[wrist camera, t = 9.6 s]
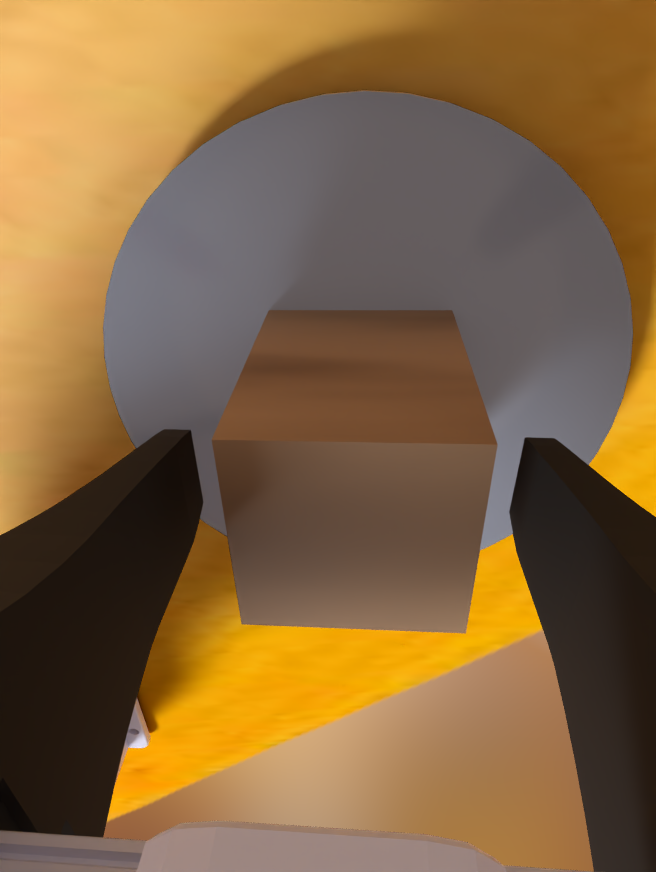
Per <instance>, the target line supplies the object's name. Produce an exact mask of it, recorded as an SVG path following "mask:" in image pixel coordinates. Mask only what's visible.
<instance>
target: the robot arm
mask: <svg viewBox="0 0 656 872" xmlns="http://www.w3.org/2000/svg"><path fill="white" fill-rule="evenodd" d="M203 503H204V502H203V496H202V491H201V485H200V479H199V473H198V468H197V462H196V456H195V450H194V445H193V439H192V433H191V430H178V429H163V430H162V431H160V432H159V433H157V434H156V435H154V436H153V437H151V438H150V439H149V440H147V441H146V442H145V443H143V444H142V445H140V446H139V447H138V448H136V449H135V450H134V451H132V452H131V453H130V454H128V455H127V456H126V457H124V458H123V459H122V460H120V461H119V462H118V463H116V464H115V465H113V466H112V467H111V468H109V469H108V470H107V471H105V472H104V473H103V474H101V475H100V476H98V477H97V478H95V479H94V480H92V481H91V482H89V483H88V484H86V485H85V486H83V487H82V488H80V489H79V490H77V491H76V492H74V493H73V494H71V495H70V496H68V497H67V498H65V499H64V500H62V501H61V502H59V503H58V504H56V505H54V506H53V507H51V508H49V509H48V510H46V511H44V512H43V513H41V514H39V515H38V516H36V517H34V518H32V519H30V520H28V521H27V522H25V523H23V524H21V525H19V526H17V527H16V528H14V529H12V530H10V531H8V532H6V533H4V534H2V535H0V872H591V871H576V870H561V869H546V868H533V867H518V866H504V865H502V864H501V863H500V862H499V861H497V860H496V859H495V858H494V857H492V856H490V855H489V854H487V853H485V852H483V851H482V850H480V849H478V848H477V847H475V846H473V845H471V844H470V843H468V842H463V841H458V840H452V839H447V838H442V837H437V836H432V835H427V834H413V833H399V832H384V831H369V830H354V829H338V828H324V827H308V826H294V825H279V824H264V823H249V822H234V821H205V822H190V823H180V824H178V825H176V826H174V827H172V828H170V829H168V830H165V831H163V832H161V833H159V834H157V835H156V836H154V837H153V838H151V839H150V840H148V841H146V840H131V839H116V838H103V835H104V831H105V826H106V822H107V817H108V813H109V808H110V803H111V799H112V794H113V789H114V785H115V782H116V780H117V777H118V774H119V771H120V769H121V766H122V763H123V760H124V758H125V755H126V752H127V749H128V747H132V748H144V747H146V746H147V745H148V744H149V741H150V734H149V731H148V728H147V725H146V722H145V720H144V717H143V714H142V711H141V708H140V705H139V702H138V699H137V695H138V691H139V688H140V684H141V681H142V677H143V674H144V671H145V667H146V664H147V660H148V657H149V653H150V650H151V647H152V644H153V641H154V638H155V635H156V633H157V630H158V627H159V625H160V622H161V620H162V617H163V615H164V613H165V610H166V608H167V605H168V603H169V601H170V598H171V596H172V593H173V591H174V589H175V586H176V584H177V581H178V579H179V576H180V574H181V572H182V569H183V567H184V564H185V562H186V559H187V557H188V554H189V552H190V549H191V547H192V544H193V542H194V538H195V535H196V531H197V527H198V524H199V519H200V515H201V511H202V507H203ZM509 514H510V520H511V525H512V531H513V536H514V541H515V546H516V551H517V554H518V558H519V561H520V564H521V567H522V570H523V573H524V576H525V579H526V581H527V584H528V587H529V590H530V593H531V596H532V599H533V602H534V605H535V608H536V610H537V613H538V616H539V619H540V622H541V625H542V628H543V631H544V634H545V636H546V639H547V642H548V645H549V649H550V652H551V655H552V659H553V662H554V666H555V670H556V674H557V679H558V683H559V687H560V692H561V696H562V701H563V705H564V709H565V714H566V719H567V723H568V729H569V733H570V739H571V743H572V748H573V753H574V758H575V763H576V768H577V774H578V779H579V785H580V790H581V796H582V801H583V806H584V812H585V818H586V824H587V830H588V836H589V842H590V849H591V855H592V861H593V867H594V872H656V517H655V516H653V515H652V514H651V513H649V512H648V511H646V510H645V509H643V508H642V507H641V506H639V505H638V504H637V503H635V502H634V501H633V500H631V499H630V498H629V497H627V496H626V495H625V494H623V493H622V492H621V491H620V490H618V489H617V488H616V487H615V486H613V485H612V484H611V483H610V482H608V481H607V480H606V479H605V478H603V477H602V476H601V475H600V474H598V473H597V472H596V471H595V470H594V469H592V468H591V467H590V466H589V465H588V464H586V463H585V462H584V461H583V460H581V459H580V458H579V457H578V456H577V455H575V454H574V453H573V452H572V451H571V450H569V449H568V448H567V447H566V446H564V445H563V444H562V443H561V442H559V441H558V440H556V439H555V438H531V437H525V439H524V443H523V448H522V453H521V458H520V463H519V467H518V472H517V477H516V482H515V486H514V491H513V496H512V501H511V505H510V510H509Z"/></svg>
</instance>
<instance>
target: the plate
mask: <svg viewBox="0 0 656 872" xmlns="http://www.w3.org/2000/svg"><path fill="white" fill-rule="evenodd" d="M269 310H452V311H453V314H454V317H455V320H456V323H457V326H458V328H459V331H460V334H461V337H462V340H463V343H464V346H465V349H466V352H467V355H468V358H469V361H470V364H471V367H472V370H473V373H474V376H475V379H476V382H477V385H478V388H479V391H480V394H481V397H482V400H483V403H484V406H485V409H486V412H487V415H488V418H489V420H490V423H491V426H492V429H493V432H494V435H495V438H496V441H497V444H498V446H497V451H496V457H495V463H494V469H493V475H492V481H491V487H490V493H489V499H488V505H487V510H486V516H485V522H484V528H483V534H482V540H481V546H480V550H481V549H484V548H486V547H489V546H491V545H492V544H494V543H496V542H498V541H500V540H502V539H504V538H506V537H508V536H509V535H511V534H513V531H512V525H511V520H510V514H509V510H510V505H511V501H512V496H513V491H514V486H515V482H516V477H517V472H518V467H519V463H520V458H521V453H522V448H523V443H524V439H525V437H531V438H555V439H556V440H558V441H559V442H561V443H562V444H563V445H564V446H566V447H567V448H568V449H569V450H571V451H572V452H573V453H574V454H575V455H577V456H578V457H579V458H580V459H581V460H583V461H584V462H585V463H586V464H588V465H589V463H590V462H591V461H592V459H593V458H594V457H595V455H596V454H597V452H598V450H599V449H600V447H601V445H602V443H603V441H604V439H605V438H606V436H607V434H608V432H609V430H610V429H611V427H612V424H613V422H614V419H615V417H616V414H617V412H618V409H619V406H620V404H621V401H622V399H623V395H624V391H625V387H626V383H627V378H628V374H629V370H630V364H631V352H632V340H633V325H632V311H631V298H630V294H629V290H628V286H627V281H626V277H625V273H624V269H623V264H622V262H621V259H620V257H619V255H618V252H617V250H616V247H615V245H614V242H613V240H612V238H611V235H610V233H609V230H608V229H607V227H606V225H605V224H604V222H603V221H602V219H601V217H600V216H599V214H598V213H597V211H596V209H595V208H594V206H593V205H592V203H591V201H590V200H589V198H588V197H587V196H586V194H585V193H584V192H583V191H582V190H581V189H580V188H579V186H578V185H577V184H576V183H575V182H574V181H573V180H572V178H571V177H570V176H569V175H568V174H567V173H566V172H565V170H564V169H563V168H562V167H561V166H559V165H558V164H557V163H556V162H555V161H553V160H552V159H551V158H550V157H549V156H547V155H546V154H545V153H544V152H543V151H541V150H540V149H539V148H538V147H536V146H535V145H534V144H533V143H532V142H530V141H529V140H527V139H525V138H524V137H522V136H520V135H519V134H517V133H515V132H514V131H512V130H510V129H508V128H507V127H505V126H503V125H502V124H500V123H498V122H496V121H495V120H493V119H490V118H488V117H485V116H483V115H480V114H478V113H475V112H473V111H470V110H467V109H465V108H462V107H460V106H457V105H455V104H452V103H449V102H447V101H442V100H438V99H433V98H429V97H424V96H420V95H415V94H410V93H406V92H389V91H373V90H360V91H349V92H338V93H327V94H321V95H317V96H313V97H309V98H305V99H301V100H297V101H293V102H289V103H285V104H282V105H279V106H277V107H274V108H272V109H269V110H267V111H265V112H262V113H260V114H258V115H255V116H253V117H250V118H248V119H246V120H243V121H241V122H238V123H237V124H235V125H234V126H232V127H230V128H229V129H227V130H225V131H224V132H222V133H221V134H219V135H217V136H216V137H214V138H212V139H211V140H209V141H208V142H206V143H204V144H203V145H202V146H200V147H199V148H198V149H197V150H196V151H195V152H193V153H192V154H191V155H190V156H189V157H187V158H186V159H185V160H184V161H183V162H182V163H180V164H179V165H178V166H177V167H176V168H175V169H173V170H172V171H171V173H170V174H169V175H168V176H167V177H166V178H165V180H164V181H163V182H162V183H161V184H160V185H159V187H158V188H157V189H156V190H155V191H154V192H153V194H152V195H151V196H150V197H149V198H148V200H147V201H146V203H145V204H144V206H143V208H142V209H141V211H140V212H139V214H138V216H137V217H136V219H135V220H134V222H133V224H132V225H131V227H130V228H129V230H128V232H127V235H126V237H125V240H124V242H123V244H122V247H121V249H120V251H119V254H118V256H117V258H116V261H115V264H114V267H113V271H112V275H111V279H110V283H109V287H108V291H107V295H106V305H105V315H104V324H103V332H104V356H105V363H106V368H107V374H108V379H109V384H110V389H111V392H112V395H113V398H114V401H115V404H116V407H117V410H118V413H119V416H120V418H121V420H122V422H123V424H124V427H125V429H126V431H127V433H128V435H129V437H130V439H131V441H132V443H133V444H134V446H135V448H138V447H139V446H140V445H142V444H143V443H145V442H146V441H147V440H149V439H150V438H151V437H153V436H154V435H156V434H157V433H159V432H160V431H162V430H163V429H178V430H191V433H192V439H193V445H194V450H195V456H196V462H197V468H198V473H199V479H200V485H201V491H202V496H203V502H204V503H203V507H202V511H201V515H200V519H201V520H202V521H204V522H205V523H207V524H208V525H210V526H211V527H213V528H214V529H216V530H218V531H219V532H221V533H222V534H224V535H225V536H227V531H226V525H225V519H224V513H223V507H222V501H221V494H220V488H219V482H218V476H217V470H216V464H215V458H214V452H213V446H212V438H213V435H214V433H215V431H216V428H217V426H218V424H219V422H220V419H221V417H222V415H223V413H224V410H225V408H226V406H227V404H228V401H229V399H230V397H231V394H232V392H233V390H234V388H235V385H236V383H237V381H238V379H239V376H240V374H241V372H242V370H243V367H244V365H245V363H246V360H247V358H248V356H249V354H250V351H251V349H252V347H253V345H254V342H255V340H256V338H257V336H258V333H259V331H260V329H261V326H262V324H263V322H264V320H265V317H266V315H267V313H268V311H269Z"/></svg>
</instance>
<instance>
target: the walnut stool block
mask: <svg viewBox="0 0 656 872" xmlns="http://www.w3.org/2000/svg"><path fill="white" fill-rule="evenodd" d="M212 446H213V452H214V458H215V464H216V470H217V476H218V482H219V488H220V494H221V501H222V507H223V513H224V519H225V525H226V531H227V537H228V543H229V549H230V555H231V561H232V568H233V574H234V580H235V586H236V592H237V598H238V604H239V610H240V616H241V622H242V624H249V625H273V626H298V627H323V628H348V629H372V630H397V631H422V632H447V633H466V628H467V622H468V617H469V611H470V605H471V599H472V593H473V587H474V581H475V575H476V569H477V563H478V558H479V552H480V546H481V540H482V534H483V528H484V522H485V516H486V510H487V505H488V499H489V493H490V487H491V481H492V475H493V469H494V463H495V457H496V451H497V446H498V444H497V441H496V438H495V435H494V432H493V429H492V426H491V423H490V420H489V418H488V415H487V412H486V409H485V406H484V403H483V400H482V397H481V394H480V391H479V388H478V385H477V382H476V379H475V376H474V373H473V370H472V367H471V364H470V361H469V358H468V355H467V352H466V349H465V346H464V343H463V340H462V337H461V334H460V331H459V328H458V326H457V323H456V320H455V317H454V314H453V311H452V310H269V311H268V313H267V315H266V317H265V320H264V322H263V324H262V326H261V329H260V331H259V333H258V336H257V338H256V340H255V342H254V345H253V347H252V349H251V351H250V354H249V356H248V358H247V360H246V363H245V365H244V367H243V370H242V372H241V374H240V376H239V379H238V381H237V383H236V385H235V388H234V390H233V392H232V394H231V397H230V399H229V401H228V404H227V406H226V408H225V410H224V413H223V415H222V417H221V419H220V422H219V424H218V426H217V428H216V431H215V433H214V435H213V438H212Z"/></svg>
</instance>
